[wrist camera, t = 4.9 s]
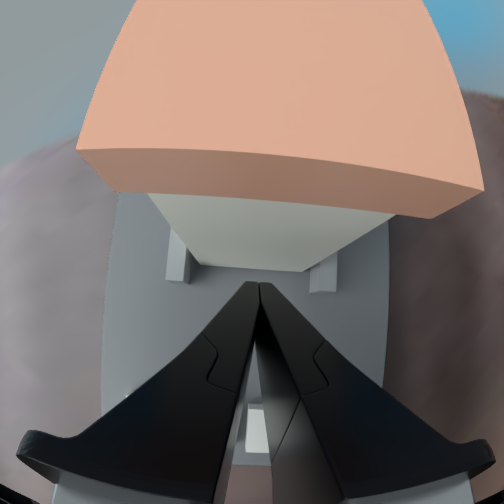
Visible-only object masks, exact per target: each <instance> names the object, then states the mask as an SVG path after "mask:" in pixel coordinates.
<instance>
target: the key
mask: <svg viewBox="0 0 504 504" xmlns="http://www.w3.org/2000/svg"><path fill="white" fill-rule="evenodd" d="M76 151H77V152H78V153H79V154H80V155H81V156H82V157H83V158H84V159H85V161H86V162H87V163H88V164H89V165H90V166H91V167H92V168H93V169H94V170H95V171H96V172H97V173H98V174H99V176H100V177H101V178H102V179H103V180H104V181H105V182H106V183H107V184H108V185H109V186H110V187H111V188H112V189H113V190H114V191H115V192H133V193H147V194H148V196H149V197H150V199H151V200H152V201H153V203H154V204H155V205H156V207H157V208H158V209H159V211H160V212H161V214H162V215H163V216H164V218H165V219H166V220H167V222H168V223H169V224H170V226H171V227H172V228H173V230H174V231H175V232H176V234H177V235H178V236H179V238H180V239H181V240H182V242H183V243H184V244H185V246H186V247H187V248H188V249H189V251H190V252H191V253H192V255H193V256H194V257H195V259H196V260H197V261H198V262H199V264H200V265H209V266H222V267H235V268H249V269H263V270H277V271H292V272H303V271H305V270H306V269H308V268H310V267H311V266H313V265H315V264H316V263H318V262H320V261H321V260H323V259H325V258H326V257H328V256H330V255H331V254H333V253H335V252H336V251H338V250H340V249H341V248H343V247H345V246H346V245H348V244H350V243H351V242H353V241H355V240H356V239H358V238H359V237H361V236H363V235H364V234H366V233H368V232H369V231H371V230H372V229H374V228H376V227H377V226H379V225H380V224H382V223H384V222H385V221H387V220H388V219H390V218H392V217H393V216H395V215H396V214H398V215H405V216H412V217H419V218H426V219H432V218H434V217H436V216H438V215H440V214H442V213H444V212H446V211H448V210H449V209H451V208H453V207H455V206H457V205H459V204H461V203H463V202H465V201H466V200H468V199H470V198H472V197H474V196H476V195H478V194H480V193H481V192H483V191H484V186H483V180H482V174H481V169H480V164H479V159H478V154H477V150H476V146H475V141H474V137H473V133H472V129H471V125H470V122H469V118H468V115H467V111H466V108H465V104H464V101H463V98H462V95H461V92H460V89H459V86H458V83H457V80H456V77H455V75H454V72H453V69H452V66H451V63H450V61H449V58H448V56H447V54H446V51H445V49H444V46H443V44H442V41H441V39H440V37H439V34H438V32H437V30H436V28H435V25H434V23H433V21H432V19H431V17H430V15H429V13H428V11H427V9H426V7H425V5H424V3H423V1H422V0H137V1H136V2H135V4H134V6H133V8H132V10H131V12H130V14H129V16H128V18H127V19H126V22H125V23H124V25H123V27H122V29H121V32H120V34H119V36H118V38H117V40H116V42H115V44H114V46H113V49H112V51H111V53H110V55H109V58H108V60H107V62H106V65H105V67H104V69H103V72H102V74H101V77H100V79H99V82H98V84H97V87H96V90H95V92H94V95H93V98H92V100H91V103H90V106H89V109H88V112H87V115H86V118H85V121H84V124H83V127H82V130H81V133H80V136H79V140H78V143H77V146H76Z"/></svg>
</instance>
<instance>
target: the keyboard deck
mask: <svg viewBox="0 0 504 504" xmlns="http://www.w3.org/2000/svg"><path fill="white" fill-rule="evenodd" d="M245 281H256V282H258V284H259V282H271V283H272V284H273V285H274V286H275V287H276V288H277V289H278V290H279V291H280V292H281V293H282V294H283V295H284V296H285V297H286V298H287V299H288V300H289V301H290V302H291V303H292V304H293V305H294V306H295V307H296V309H297V310H298V311H299V312H300V313H301V314H302V315H303V316H304V317H305V318H306V319H307V320H308V321H309V322H310V323H311V324H312V325H313V326H314V327H315V328H316V329H317V330H318V331H319V332H320V333H321V334H322V335H323V337H324V338H325V339H326V340H328V341H329V342H330V343H331V344H332V345H333V346H334V347H335V348H336V349H337V350H338V351H339V352H340V353H341V354H342V355H343V356H344V357H345V358H346V359H347V360H349V361H350V362H351V363H352V364H353V365H354V366H355V367H357V368H358V369H359V370H360V371H362V372H363V373H364V374H365V375H366V376H368V377H369V378H370V379H371V380H373V381H374V382H375V383H376V384H378V385H379V386H380V387H381V388H382V385H383V376H384V367H385V356H386V343H387V328H388V307H389V224H388V220H387V221H385V222H384V223H382V224H380V225H379V226H377V227H376V228H374V229H372V230H371V231H369V232H368V233H366V234H364V235H363V236H361V237H359V238H358V239H356V240H355V241H353V242H351V243H350V244H348V245H346V246H345V247H343V248H341V249H340V250H338V251H336V252H335V253H333V254H331V255H330V256H328V257H326V258H325V259H323V260H321V261H320V262H318V263H316V264H315V265H313V266H311V267H310V268H308V269H306V270H305V271H303V272H292V271H277V270H263V269H249V268H235V267H222V266H209V265H200V264H199V262H198V261H197V260H196V259H195V257H194V256H193V255H192V253H191V252H190V251H189V249H188V248H187V247H186V246H185V244H184V243H183V242H182V240H181V239H180V238H179V236H178V235H177V234H176V232H175V231H174V230H173V228H172V227H171V226H170V224H169V223H168V222H167V220H166V219H165V218H164V216H163V215H162V214H161V212H160V211H159V209H158V208H157V207H156V205H155V204H154V203H153V201H152V200H151V199H150V197H149V196H148V194H147V193H133V192H119V196H118V201H117V207H116V213H115V219H114V225H113V232H112V238H111V245H110V253H109V261H108V269H107V278H106V288H105V299H104V312H103V328H102V349H101V416H103V415H105V414H106V413H107V412H108V411H110V410H111V409H112V408H114V407H115V406H116V405H117V404H119V403H120V402H121V401H122V400H124V399H125V398H126V397H127V396H129V395H130V394H131V393H132V392H134V391H135V390H136V389H137V388H139V387H140V386H141V385H142V384H143V383H145V382H146V381H147V380H148V379H150V378H151V377H152V376H153V375H155V374H156V373H157V372H158V371H159V370H161V369H162V368H163V367H164V366H166V365H167V364H168V363H169V362H170V361H172V360H173V359H174V358H175V357H176V356H177V355H178V354H180V353H181V352H182V351H183V350H184V349H185V348H186V347H187V346H188V345H189V344H190V343H191V342H192V341H193V340H194V338H195V337H196V336H197V335H198V334H199V333H200V332H201V331H202V330H203V329H204V328H205V326H206V325H207V324H208V323H209V322H210V321H211V320H212V319H213V317H214V316H215V315H216V314H217V313H218V312H219V311H220V309H221V308H222V307H223V306H224V305H225V304H226V303H227V301H228V300H229V299H230V298H231V297H232V296H233V295H234V293H235V292H236V291H237V290H238V289H239V288H240V287H241V285H242V284H243V283H244V282H245ZM232 464H234V465H260V466H271V462H270V455H269V448H268V441H267V433H266V426H265V418H264V411H263V403H262V396H261V388H260V381H259V373H258V366H257V358H256V350H255V343H254V350H253V356H252V361H251V367H250V372H249V377H248V383H247V388H246V393H245V399H244V404H243V409H242V414H241V419H240V424H239V430H238V435H237V440H236V445H235V450H234V455H233V460H232Z"/></svg>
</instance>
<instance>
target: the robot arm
mask: <svg viewBox="0 0 504 504" xmlns="http://www.w3.org/2000/svg"><path fill="white" fill-rule="evenodd" d="M254 343H255V350H256V358H257V366H258V373H259V381H260V388H261V396H262V403H263V411H264V418H265V426H266V433H267V441H268V448H269V455H270V462H271V470H272V482H273V504H504V490H502V491H500V492H498V493H496V494H494V495H492V496H490V497H488V498H485V499H483V500H481V501H479V502H477V503H475V500H474V496H473V491H472V487H471V483H470V479H472V478H473V477H475V476H477V475H478V474H480V473H482V472H483V471H485V470H486V469H488V468H489V467H491V466H492V465H493V464H494V463H495V462H496V459H495V456H494V453H493V451H492V448H491V447H490V445H489V444H488V442H487V441H486V440H485V439H478V440H474V441H471V442H468V443H464V444H457V443H453V442H451V441H449V440H447V439H446V438H445V437H443V436H442V435H441V434H439V433H438V432H437V431H436V430H434V429H433V428H432V427H430V426H429V425H428V424H427V423H425V422H424V421H423V420H422V419H420V418H419V417H418V416H416V415H415V414H414V413H413V412H411V411H410V410H409V409H408V408H406V407H405V406H404V405H403V404H401V403H400V402H399V401H398V400H396V399H395V398H394V397H393V396H391V395H390V394H389V393H388V392H386V391H385V390H384V389H383V388H381V387H380V386H379V385H378V384H376V383H375V382H374V381H373V380H371V379H370V378H369V377H368V376H366V375H365V374H364V373H363V372H362V371H360V370H359V369H358V368H357V367H355V366H354V365H353V364H352V363H351V362H350V361H349V360H347V359H346V358H345V357H344V356H343V355H342V354H341V353H340V352H339V351H338V350H337V349H336V348H335V347H334V346H333V345H332V344H331V343H330V342H329V341H328V340H326V339H325V338H324V337H323V335H322V334H321V333H320V332H319V331H318V330H317V329H316V328H315V327H314V326H313V325H312V324H311V323H310V322H309V321H308V320H307V319H306V318H305V317H304V316H303V315H302V314H301V313H300V312H299V311H298V310H297V309H296V307H295V306H294V305H293V304H292V303H291V302H290V301H289V300H288V299H287V298H286V297H285V296H284V295H283V294H282V293H281V292H280V291H279V290H278V289H277V288H276V287H275V286H274V285H273V284H272V283H271V282H259V284H258V282H256V281H245V282H244V283H243V284H242V285H241V287H240V288H239V289H238V290H237V291H236V292H235V293H234V295H233V296H232V297H231V298H230V299H229V300H228V301H227V303H226V304H225V305H224V306H223V307H222V308H221V309H220V311H219V312H218V313H217V314H216V315H215V316H214V317H213V319H212V320H211V321H210V322H209V323H208V324H207V325H206V326H205V328H204V329H203V330H202V331H201V332H200V333H199V334H198V335H197V336H196V337H195V338H194V340H193V341H192V342H191V343H190V344H189V345H188V346H187V347H186V348H185V349H184V350H183V351H182V352H181V353H180V354H178V355H177V356H176V357H175V358H174V359H173V360H172V361H170V362H169V363H168V364H167V365H166V366H164V367H163V368H162V369H161V370H159V371H158V372H157V373H156V374H155V375H153V376H152V377H151V378H150V379H148V380H147V381H146V382H145V383H143V384H142V385H141V386H140V387H139V388H137V389H136V390H135V391H134V392H132V393H131V394H130V395H129V396H127V397H126V398H125V399H124V400H122V401H121V402H120V403H119V404H117V405H116V406H115V407H114V408H112V409H111V410H110V411H108V412H107V413H106V414H105V415H103V416H102V417H101V418H100V419H98V420H97V421H96V422H94V423H93V424H92V425H91V426H89V427H88V428H87V429H85V430H84V431H83V432H82V433H80V434H78V435H77V436H74V437H70V438H62V437H57V436H54V435H51V434H48V433H45V432H42V431H38V430H29V431H27V432H26V434H25V435H24V437H23V439H22V441H21V442H20V445H19V447H18V450H17V453H16V456H17V457H18V459H20V460H21V461H22V462H23V463H25V464H26V465H27V466H29V467H30V468H32V469H33V470H34V471H36V472H37V473H39V474H40V475H42V476H43V477H45V478H46V479H48V480H49V481H51V482H52V483H54V484H55V487H54V491H53V495H52V499H51V504H224V501H225V496H226V491H227V485H228V480H229V475H230V470H231V465H232V460H233V455H234V450H235V445H236V440H237V435H238V430H239V424H240V419H241V414H242V409H243V404H244V399H245V393H246V388H247V383H248V377H249V372H250V367H251V361H252V356H253V350H254ZM0 504H39V503H38V502H36V501H34V500H32V499H30V498H28V497H26V496H24V495H21V494H19V493H17V492H15V491H13V490H11V489H9V488H7V487H6V486H4V485H2V484H0Z"/></svg>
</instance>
